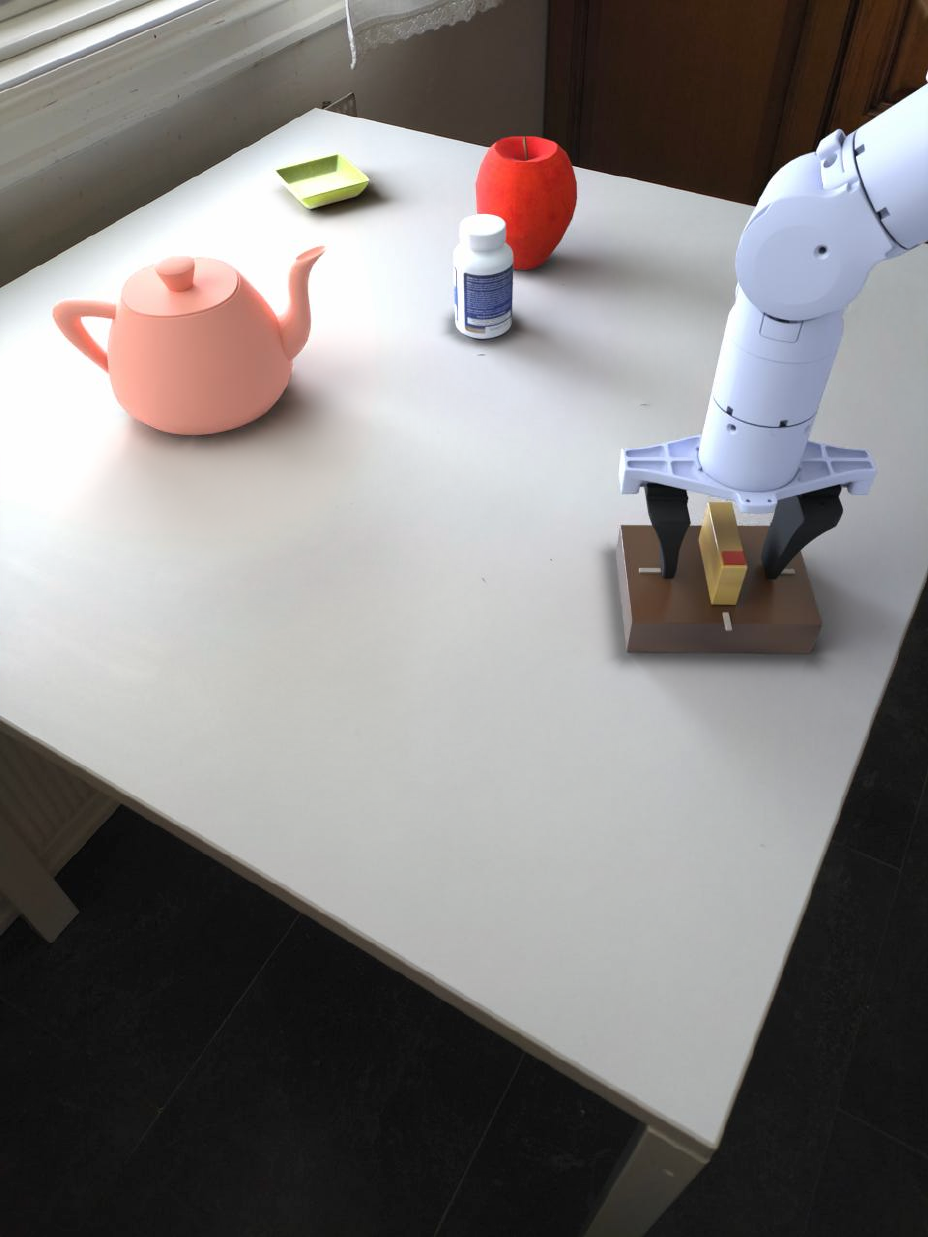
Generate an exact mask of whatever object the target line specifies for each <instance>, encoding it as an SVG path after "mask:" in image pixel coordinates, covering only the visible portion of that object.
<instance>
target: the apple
mask: <svg viewBox="0 0 928 1237" xmlns="http://www.w3.org/2000/svg"><path fill="white" fill-rule="evenodd" d="M574 170H575V169H574V167H573V164H572V162H571V160H570V157H569V155H568V153H567V151H565V149H563V148H562V147H561V146H560V145H559V144H557V143H556V141H553V140H550V139H546V138H543V137H538V136H531V135H530V136H527V135H525V136H524V135H523V136H521V135H520V136H509V137H508V136H507V137H503V138H500V139H499V140H497V141H496V142H494V144H492V145H491V146H490V147H489V148H488V150H487V152H486V153H485V155H484V158H483V159H482V161H481V162H480V166H479V169H478V172H477V177H476V180H475V184H474V186H475V204H476V215H478V214H489V215H494V216H498V217H500V218H502V219H503V220H504V221H505V223H506V241H505V242H506V243H507V244H508V245H509V246H510V247H511V249H512V252H513V270H520V271H525V270H527V271H528V270H529V271H530V270H535V269H536V268H539V267H540V266H542V265H544V263H546V261H547V260H548V259H549V258H550V257H551V255H552V254H553V253H554V251H555V250H556V249H557V247H558V245H559V244H560V243H561V241H562V240H563V239H564V236H565V234H566V232H567V230H568V228H569V226H570V225H571V223H572V220H573V218H574V214H575V212H576V207H577V201H578V181H577V178H576V177H577V176H576V174H575V171H574Z"/></svg>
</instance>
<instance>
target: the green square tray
mask: <svg viewBox="0 0 928 1237" xmlns="http://www.w3.org/2000/svg"><path fill="white" fill-rule="evenodd" d="M272 173H273V174H274V176H275V177H276V178H277V179H278V180H279V181H280V182H281V184H282V185H283V186H285V187H286V188H287V190H289V192H290V193H291V194H292V195H293V196H294V197H295V198H296V199H297V200H298V201H299V202H300V203H301V204H302V205H303V206H304V207H305V208H307V209H309V210H312V209H316V208H318V207H322V206H326V205H330V204H334V203H337V202H341V201H345V200H348V199H353V198H356V197H358V196H359V195H360V194H361V193H362V192H364V190H365V189H366V188H367V187H368V184H369V183H370V181H371V179H370V177H369V176H367V175H366V174H365V173H364V172H363V171H361V170H360V169H359V167H357V166H356V165H355V164H353V163H352V162H351V161H350V160H348V158H347V157H346V156H344V154H342V153H333V154H330V155H325V156H322V157H321V156H320V157H317V158H314V159H309V160H306V161H305V160H304V161H301V162H298V163H294V164H288V165H285V166H281V167H277V168H274V169H273V171H272Z"/></svg>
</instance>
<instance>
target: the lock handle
mask: <svg viewBox="0 0 928 1237" xmlns="http://www.w3.org/2000/svg"><path fill="white" fill-rule="evenodd" d="M732 502H733V501H732ZM732 502H731V501H707V504H706V508H705V511H704V516H703V518H704V519H703V518H702V524H701V525H702V528H701V532H700V536H699V545H700V550H701V555H702V560H703V565H704V570H705V575H706V580H707V585H708V590H709V595H710V600H711V604H712V605H736V603H737V600H738V596H739V593H740V590H741V587H742V584H743V580H744V577H745V574H746V571H747V568H748V567H747V563H746V559H745V555H744V551H743V547H742V543H741V538H740V534H739V530H738V526H739V525H738V523H737V522H738V521H737V518H736V514H735V509H734V505H733V503H732Z"/></svg>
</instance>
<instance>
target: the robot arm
mask: <svg viewBox="0 0 928 1237" xmlns="http://www.w3.org/2000/svg"><path fill="white" fill-rule="evenodd" d="M925 80H926V81H927V83H926V84H925V85H923V86H921V87H920V88H919V89H917V90H916V91H914V92H912V93H910V94H909V95H907V96H906V97H904V98H903V99H901V100H900V101H899V102H897V103H895V104H894V105H892V106H891V107H889V108H888V109H886V110H884V111H883V112H881V113H880V114H878V115H877V116H875V117H874V118H872V119H871V120H870V121H868V122H866V123H864V124H863V125H862V126H860V127H859V128H857V129H856V130H854V131H853V132H851V133H850V134H848V135H847V136H846V134H845V133H844V131H843V129H840V128H838V129H836V130H835V131H833V132H832V133H829V134H828V135H827V136H825V138H823V139H821V140H820V142H819V144H818V146H817V148H816V151H812V152H809V153H805V154H803V155H800V156H798V157H796V158H794V159H792V160H790V161H789V162H788V163H786V164H785V165H784V166H782V167H780V168H779V170H778V171H776V173H775V174H774V175H773V176H772V178H771V179H770V180H769V181H768V183H767V185H766V187H765V188H764V190H763V192H762V194H761V196H760V197H759V198H758V202H757V204H756V206H755V208H754V210H753V212H752V213H751V215H750V218H749V220H748V221H747V224H746V226H745V228H744V229H743V231H742V233H741V236H740V238H739V242H738V246H737V250H736V254H735V255H736V256H735V263H734V264H735V274H736V279H737V285H736V288H735V303H734V305H733V306H732V308H731V309H730V311H729V313H728V316H727V320H726V326H725V330H724V334H723V338H722V343H721V348H720V352H719V355H718V356H719V357H718V360H717V366H716V370H715V375H714V379H713V384H712V388H711V392H710V398H709V403H708V407H707V413H706V416H705V420H704V426H703V428H702V433H700V434H696V435H693V436H688V437H684V438H680V439H675V440H671V441H667V442H662V443H659V444H654V445H649V446H643V447H634V448H633V447H632V448H631V447H629V448H622V449H621V450H620V459H619V466H618V482H619V490H620V494H621V495H637V494H639V493H640V488H643V489H644V496H645V500H646V501H645V502H646V508H647V514H648V518H649V520H650V525H652V526H653V528H654V530H655V532H656V534H657V536H658V539H659V542H660V556H659V559H660V565H661V572H662V577H663V578H664V579H673V578H674V576H675V573H676V570H677V563H678V557H679V551H680V547H681V544H682V541H683V539H684V536H685V534H686V532H687V529H688V528H689V526H690V525H692V522H691V521H692V520H691V516H690V512H689V511H690V510H689V506H688V502H689V496H688V491H689V492H694V493H697V494H701V495H706V496H711V497H715V498H720V499H723V500H729V501H730V502H731V501H732V502H735V503H736V507H737V509H738V511H740V512H741V513H743V514H752V515H753V514H756V515H757V514H759V515H761V514H762V515H768V514H773V516H772V519H771V522H770V525H769V526H770V527H769V530H768V533H767V535H766V538H765V541H764V544H763V549H762V554H761V560H762V564H763V568H764V572H765V576H766V579H775V580H776V579H777V578H778V576H779V575H780V574H781V572H782V571H783V570H784V569H785V567H786V566H787V565H788V564H789V563H790V561H791V560H792V559H793V558H794V557H795V556H796V555H797V554H798V553H799V552H800V551H801V552H802V550H803V549H804V548H805V547H806V546H808V545H809V544H810V543H811V542H812V541H814V540H816V539H817V538H818V537H820V536H821V535H824V534H825V533H826V532H829V531H830V530H832V529H835V528H836V527H837V526H838V524H839V522H840V521H841V519H842V516H843V513H844V507H843V504H842V502H841V498H840V496H841V493H842V489H846V491H847V493H848V494H849V495H852V496H867V495H869V493H870V490H871V487H872V486H873V484H874V481H875V478H876V476H877V474H878V472H879V471H878V468H877V466H876V462H875V461H874V458H873V455H872V454H871V451H870V449H869V448H854V447H845V446H839V445H832V444H828V443H824V442H819V441H815V440H810V439H809V438H810V435H811V432H812V429H813V426H814V424H815V420H816V417H817V415H818V411H819V408H820V405H821V401H822V399H823V395H824V394H825V393H824V392H825V389H826V386H827V384H828V381H829V377H830V375H831V372H832V369H833V366H834V363H835V360H836V357H837V354H838V352H839V348H840V346H841V342H842V339H843V336H844V330H845V325H844V313H845V309H846V308H848V306H849V305H851V304H852V303H853V302H854V300H855V299H857V297H858V296H859V294H860V293H861V292H862V290H863V288H864V287H865V285H866V283H867V281H868V278H869V277H870V276H869V275H870V274H871V272H872V270H873V269H874V267H876V266H877V265H878V264H880V263H881V262H884V261H888V260H892V259H895V258H898V257H900V256H902V255H904V254H906V253H908V252H910V251H912V250H914V249H916V248H918V247H919V246H922V245H923V244H925V243H927V242H928V71H927V73H926V76H925Z"/></svg>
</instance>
